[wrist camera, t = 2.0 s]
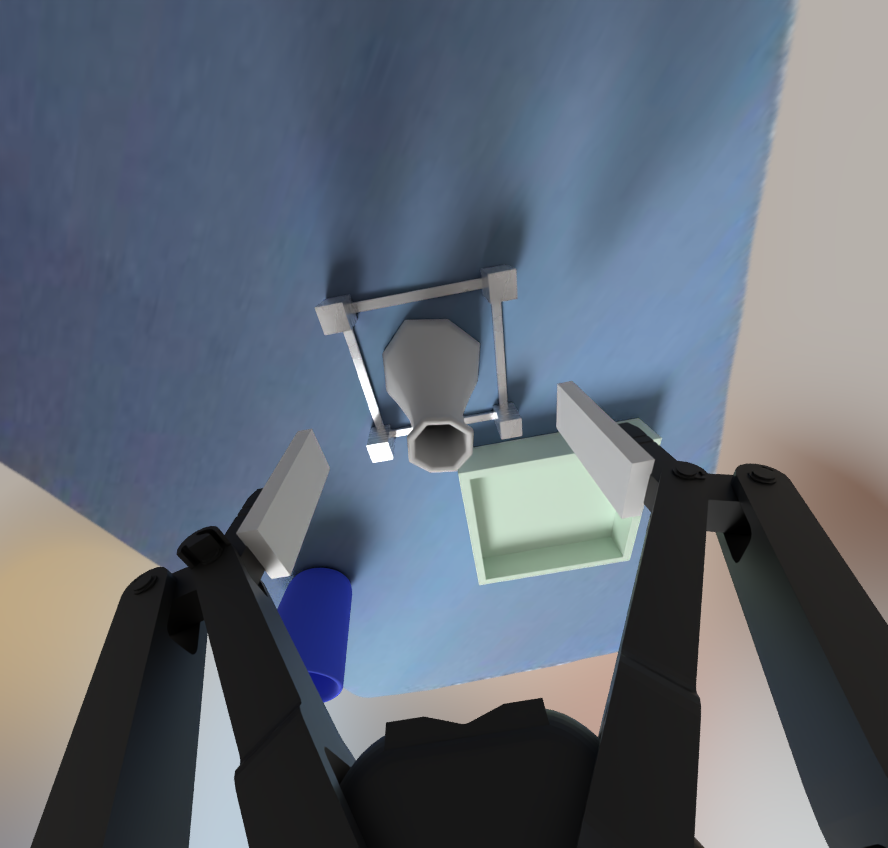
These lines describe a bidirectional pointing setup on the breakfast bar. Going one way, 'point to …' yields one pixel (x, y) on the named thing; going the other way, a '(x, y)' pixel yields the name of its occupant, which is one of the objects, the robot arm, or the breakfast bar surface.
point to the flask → (434, 389)
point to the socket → (493, 282)
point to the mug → (319, 625)
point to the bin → (540, 510)
